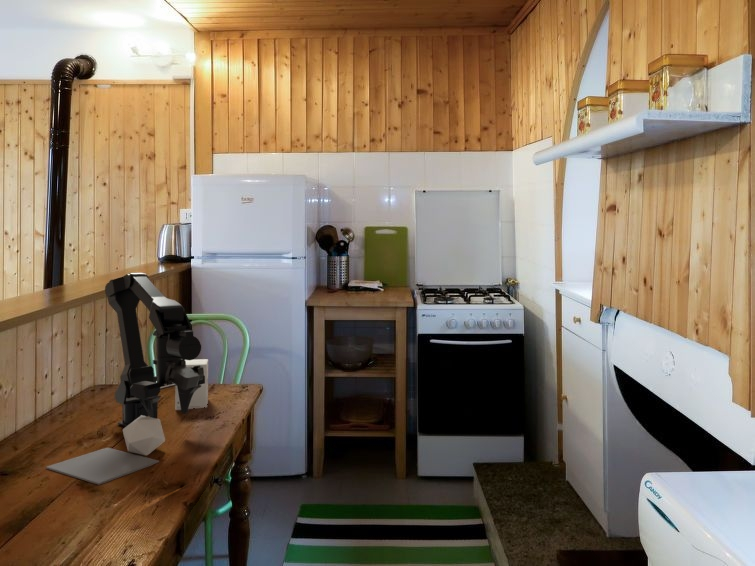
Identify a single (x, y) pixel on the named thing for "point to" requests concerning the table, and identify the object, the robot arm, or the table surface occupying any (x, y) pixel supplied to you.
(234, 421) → the table surface
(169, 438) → the table surface
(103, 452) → the mat
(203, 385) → the supplement box
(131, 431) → the grey faceted block
